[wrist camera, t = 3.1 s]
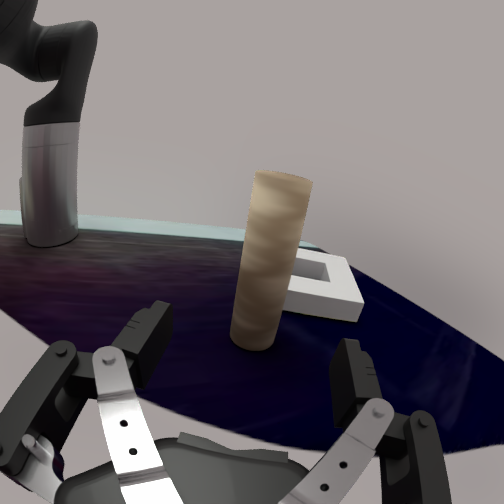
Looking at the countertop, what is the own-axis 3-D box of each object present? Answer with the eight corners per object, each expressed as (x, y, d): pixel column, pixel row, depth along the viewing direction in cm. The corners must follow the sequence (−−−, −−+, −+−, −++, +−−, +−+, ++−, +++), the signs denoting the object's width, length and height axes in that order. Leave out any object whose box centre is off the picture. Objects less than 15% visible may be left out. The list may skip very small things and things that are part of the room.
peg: (226, 345, 22) (252, 174, 17) (234, 318, 26) (258, 168, 21) (272, 354, 22) (315, 186, 17) (275, 326, 26) (310, 178, 20)
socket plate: (248, 303, 29) (252, 282, 28) (259, 257, 40) (262, 241, 39) (356, 322, 28) (364, 303, 27) (340, 272, 39) (344, 257, 38)
